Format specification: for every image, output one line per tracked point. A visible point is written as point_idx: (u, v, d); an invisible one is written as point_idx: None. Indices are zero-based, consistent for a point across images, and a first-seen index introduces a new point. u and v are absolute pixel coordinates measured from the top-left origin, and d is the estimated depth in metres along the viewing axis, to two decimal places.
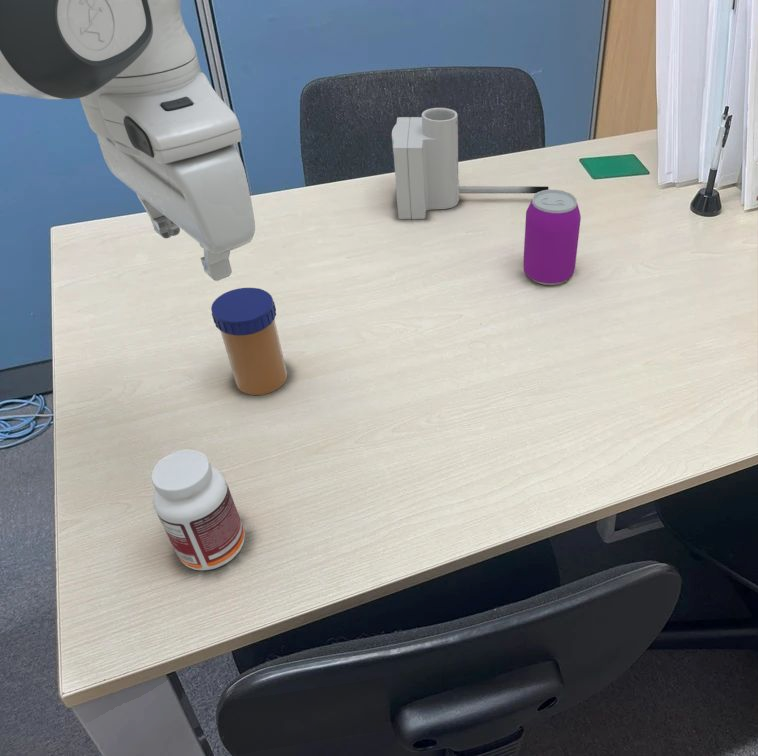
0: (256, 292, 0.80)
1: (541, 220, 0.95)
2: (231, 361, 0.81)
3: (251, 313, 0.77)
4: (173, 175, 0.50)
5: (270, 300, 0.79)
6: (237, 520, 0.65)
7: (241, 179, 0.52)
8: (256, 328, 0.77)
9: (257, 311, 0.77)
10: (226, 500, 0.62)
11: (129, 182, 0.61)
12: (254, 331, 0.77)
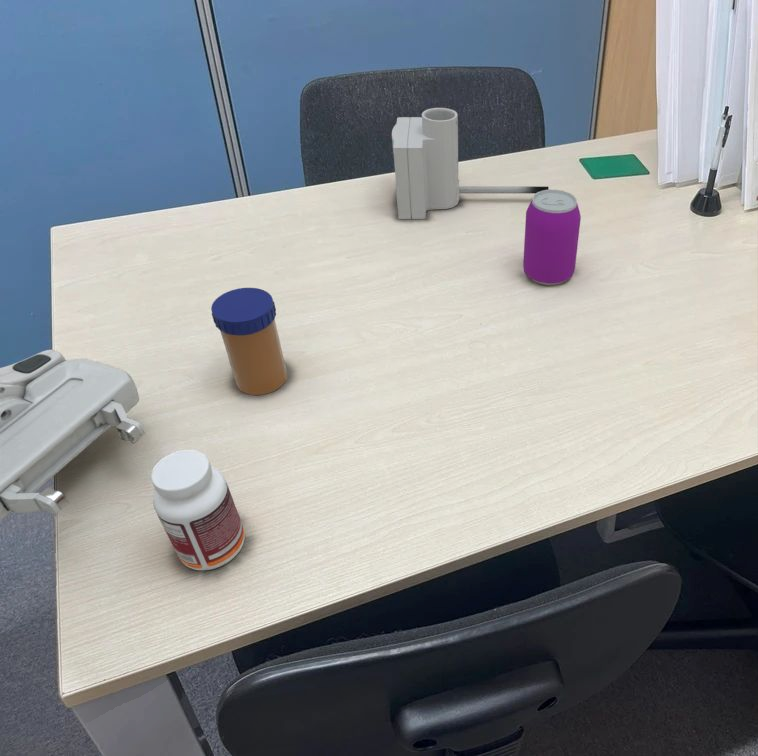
0: (256, 292, 0.80)
1: (541, 220, 0.95)
2: (231, 361, 0.81)
3: (251, 313, 0.77)
4: (70, 361, 0.73)
5: (270, 300, 0.79)
6: (237, 520, 0.65)
7: None
8: (256, 328, 0.77)
9: (257, 311, 0.77)
10: (226, 500, 0.62)
11: (3, 471, 0.63)
12: (254, 331, 0.77)
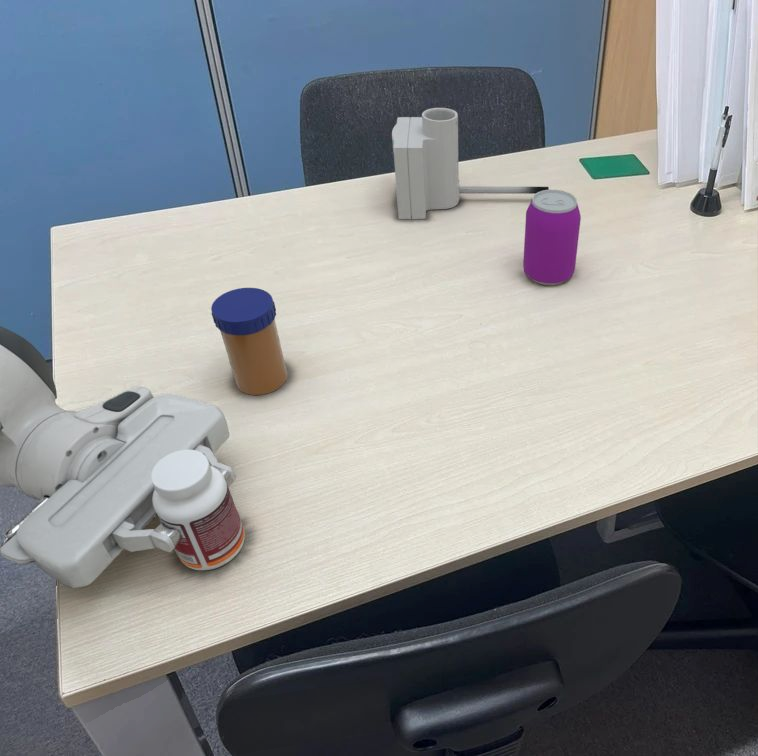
0: (256, 292, 0.80)
1: (541, 220, 0.95)
2: (231, 361, 0.81)
3: (251, 313, 0.77)
4: (159, 397, 0.70)
5: (270, 300, 0.79)
6: (237, 520, 0.65)
7: None
8: (256, 328, 0.77)
9: (257, 311, 0.77)
10: (226, 500, 0.62)
11: (107, 515, 0.60)
12: (254, 331, 0.77)
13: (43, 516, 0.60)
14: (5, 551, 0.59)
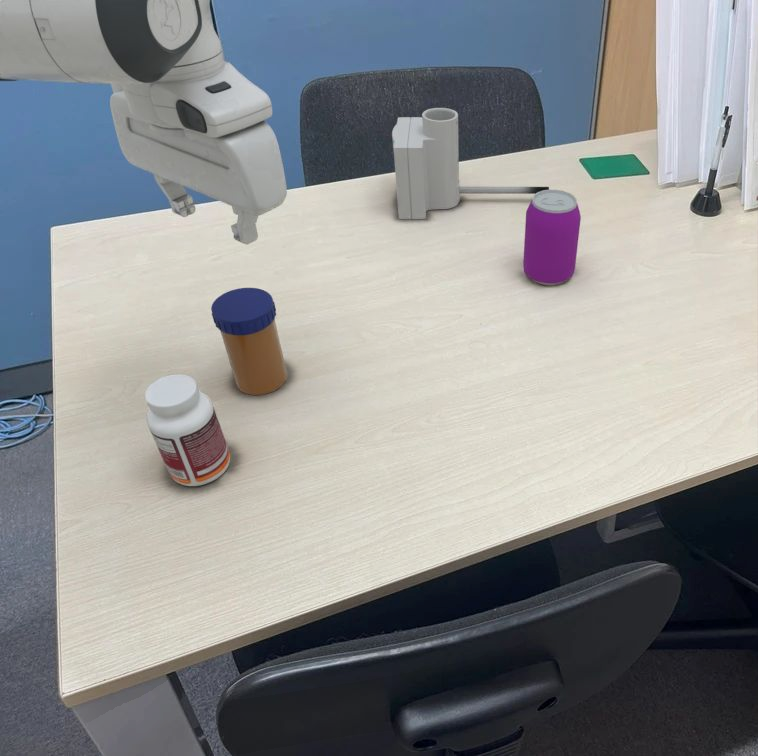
0: (256, 292, 0.80)
1: (541, 220, 0.95)
2: (231, 361, 0.81)
3: (251, 313, 0.77)
4: (223, 147, 0.59)
5: (270, 300, 0.79)
6: (223, 441, 0.73)
7: (276, 148, 0.62)
8: (256, 328, 0.77)
9: (257, 311, 0.77)
10: (212, 420, 0.70)
11: (153, 167, 0.68)
12: (254, 331, 0.77)
13: (124, 111, 0.66)
14: (112, 85, 0.67)
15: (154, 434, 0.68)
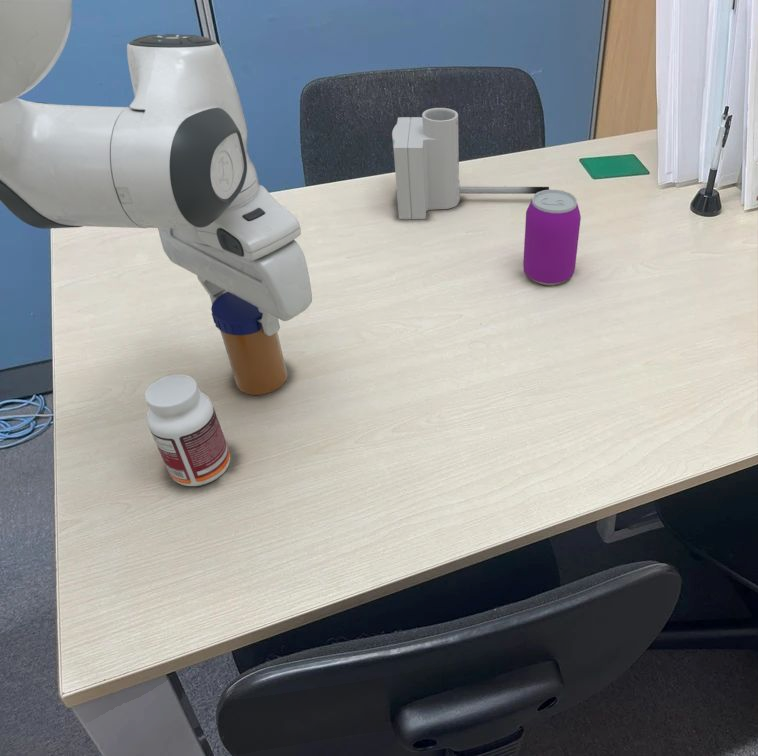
0: None
1: (541, 220, 0.95)
2: (231, 361, 0.81)
3: (251, 313, 0.77)
4: (257, 268, 0.67)
5: None
6: (223, 441, 0.73)
7: (303, 264, 0.70)
8: (256, 328, 0.77)
9: (257, 311, 0.77)
10: (212, 420, 0.70)
11: (193, 268, 0.76)
12: (254, 331, 0.77)
13: None
14: None
15: (154, 434, 0.68)
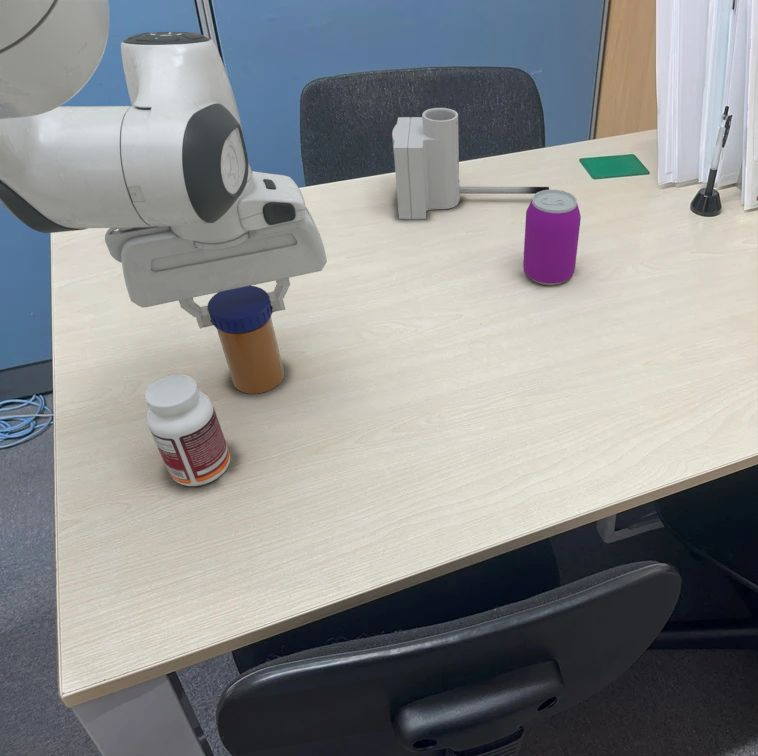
0: (230, 291, 0.79)
1: (541, 220, 0.95)
2: (229, 360, 0.81)
3: (259, 300, 0.78)
4: (304, 224, 0.73)
5: (252, 287, 0.80)
6: (223, 441, 0.73)
7: None
8: (271, 310, 0.79)
9: (260, 296, 0.79)
10: (212, 420, 0.70)
11: (186, 291, 0.73)
12: (271, 314, 0.79)
13: (150, 254, 0.69)
14: (108, 242, 0.68)
15: (154, 434, 0.68)
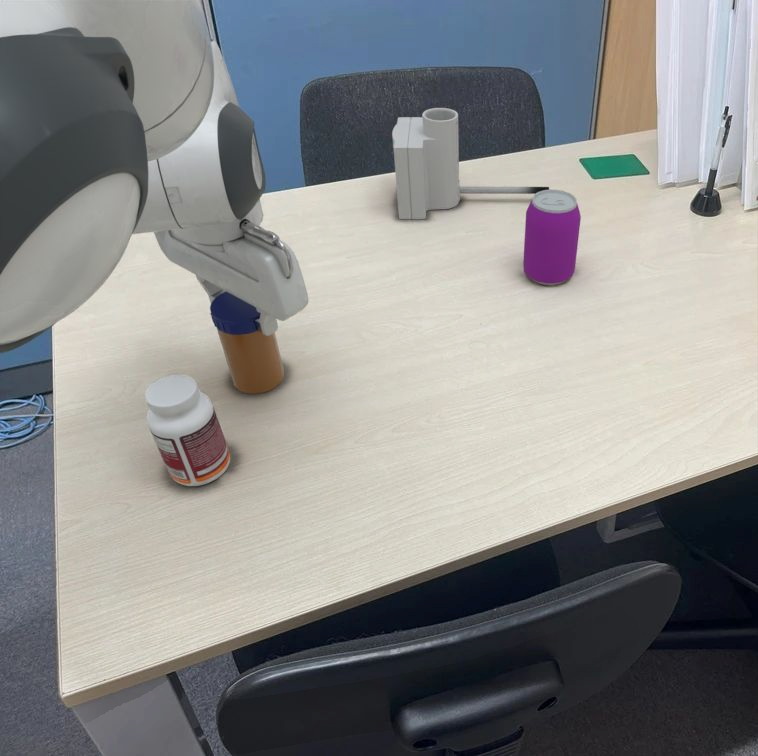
0: (226, 315, 0.76)
1: (541, 220, 0.95)
2: (229, 360, 0.81)
3: None
4: None
5: (212, 307, 0.77)
6: (223, 441, 0.73)
7: None
8: None
9: (226, 296, 0.79)
10: (212, 420, 0.70)
11: None
12: None
13: None
14: None
15: (154, 434, 0.68)
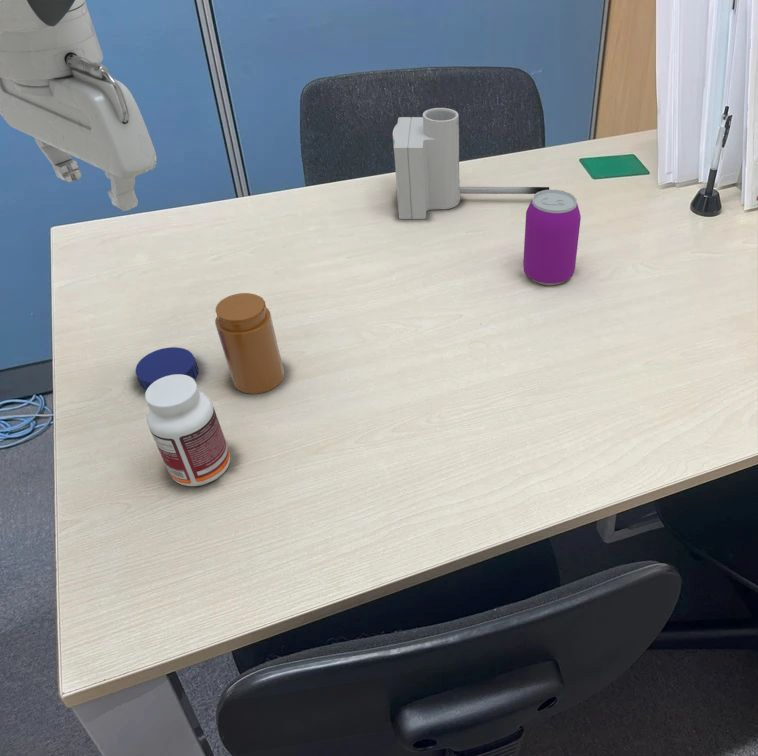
0: (149, 377, 0.82)
1: (541, 220, 0.95)
2: (229, 360, 0.81)
3: (158, 355, 0.85)
4: None
5: (137, 368, 0.83)
6: (223, 441, 0.73)
7: None
8: None
9: (152, 356, 0.85)
10: (212, 420, 0.70)
11: None
12: None
13: None
14: None
15: (154, 434, 0.68)
